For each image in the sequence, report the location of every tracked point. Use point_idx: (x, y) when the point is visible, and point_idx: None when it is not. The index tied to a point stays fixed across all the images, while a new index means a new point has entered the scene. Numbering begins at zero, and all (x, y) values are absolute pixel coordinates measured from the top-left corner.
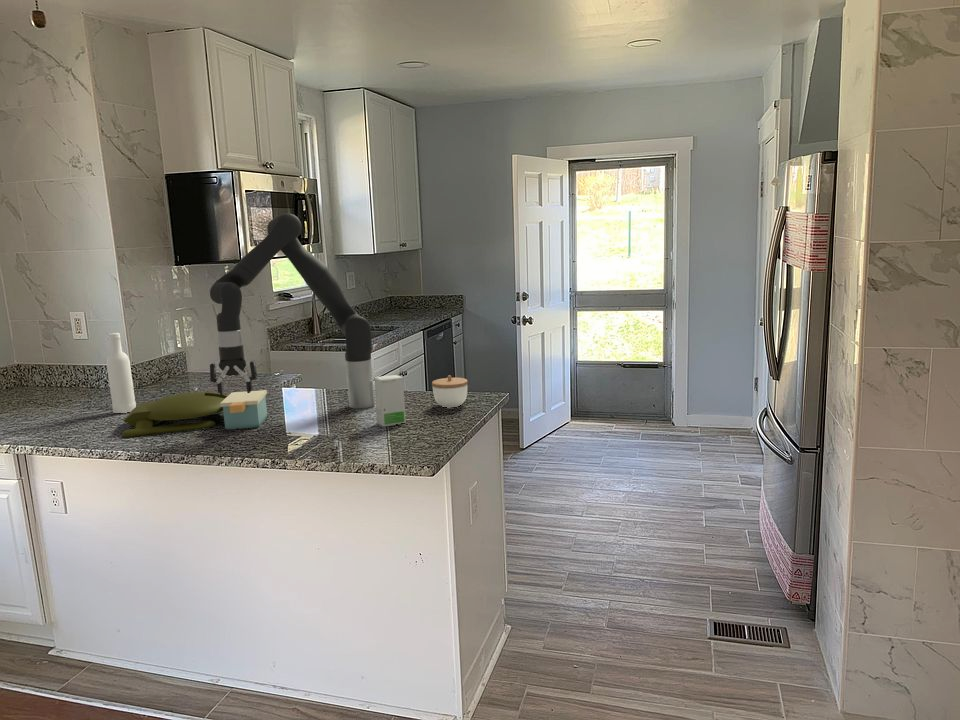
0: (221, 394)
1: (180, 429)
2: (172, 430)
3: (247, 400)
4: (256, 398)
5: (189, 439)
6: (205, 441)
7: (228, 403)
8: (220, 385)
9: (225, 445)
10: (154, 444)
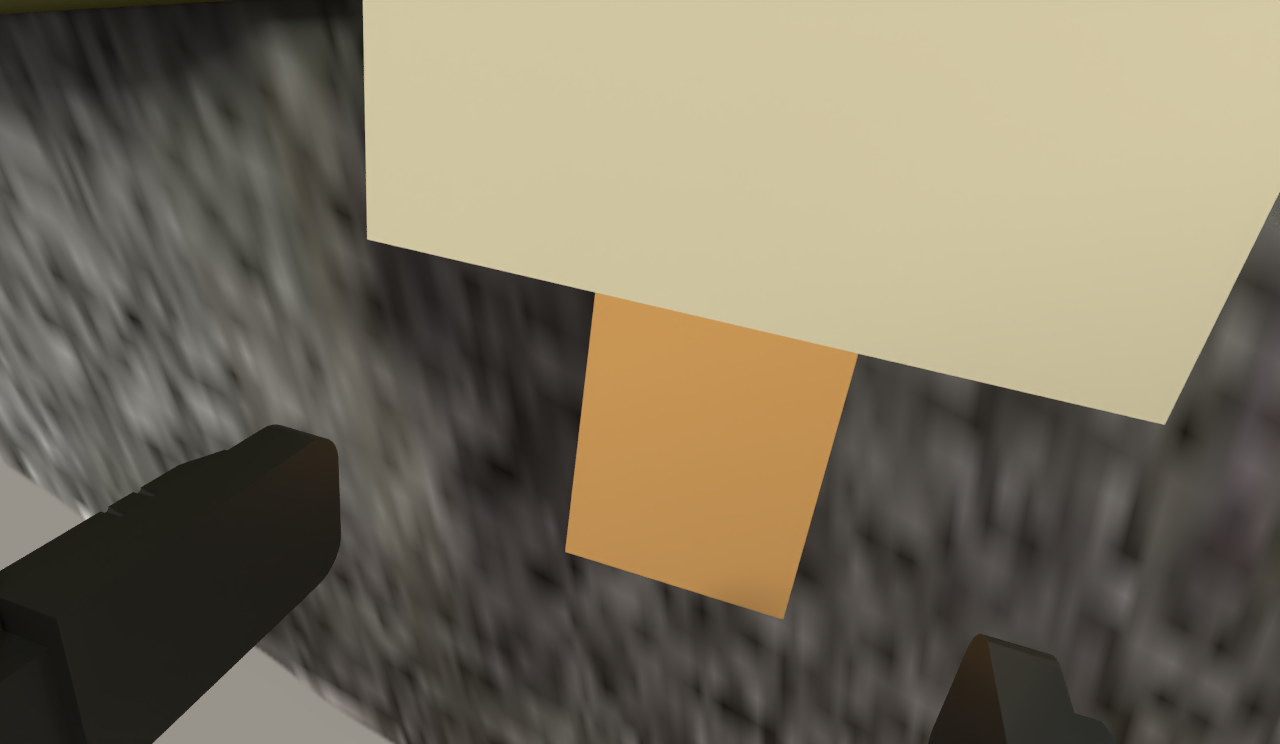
0: (314, 552)
1: (111, 7)
2: (48, 9)
3: (919, 275)
4: (1198, 140)
5: (317, 370)
6: (470, 511)
7: (520, 268)
8: (123, 740)
9: (651, 715)
10: (102, 377)
